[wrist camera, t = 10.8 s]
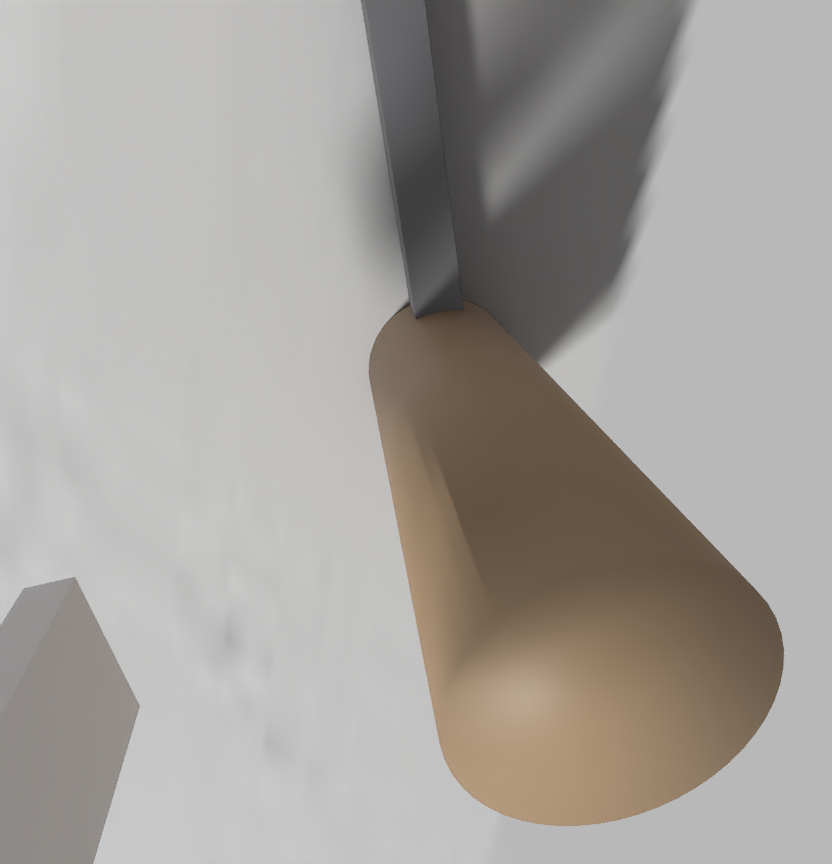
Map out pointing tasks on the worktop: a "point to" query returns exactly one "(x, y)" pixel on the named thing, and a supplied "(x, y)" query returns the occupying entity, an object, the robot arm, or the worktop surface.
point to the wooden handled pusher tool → (540, 537)
